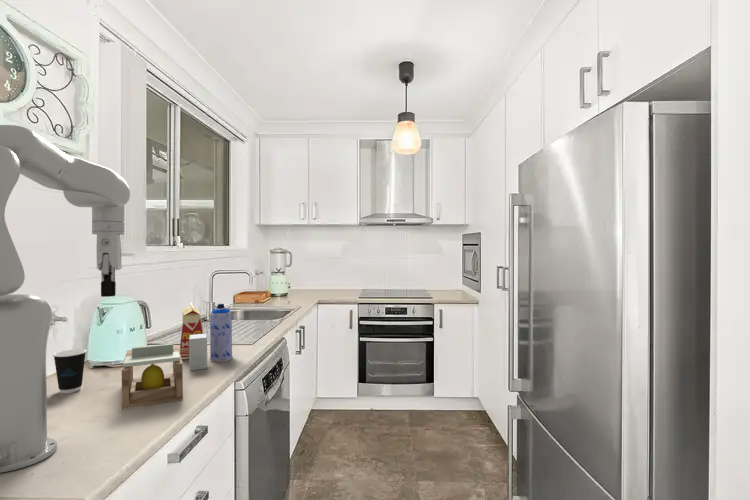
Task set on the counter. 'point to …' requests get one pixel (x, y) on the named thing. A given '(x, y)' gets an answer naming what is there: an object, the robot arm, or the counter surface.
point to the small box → (198, 351)
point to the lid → (152, 355)
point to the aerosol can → (220, 334)
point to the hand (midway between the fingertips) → (108, 296)
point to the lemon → (152, 377)
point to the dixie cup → (70, 369)
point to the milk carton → (189, 329)
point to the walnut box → (140, 397)
